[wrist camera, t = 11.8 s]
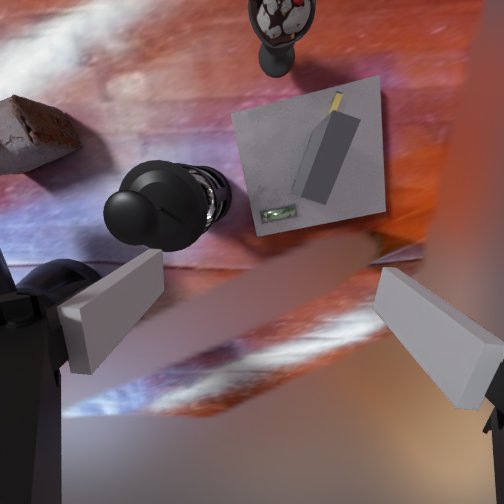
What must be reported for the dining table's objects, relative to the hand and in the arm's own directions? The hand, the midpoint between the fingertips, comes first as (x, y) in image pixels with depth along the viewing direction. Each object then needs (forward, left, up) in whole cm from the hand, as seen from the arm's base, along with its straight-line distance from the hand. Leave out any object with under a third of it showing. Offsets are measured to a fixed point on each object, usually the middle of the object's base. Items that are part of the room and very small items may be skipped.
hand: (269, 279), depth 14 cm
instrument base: (+8, +6, -27) cm, 29 cm away
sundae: (+6, +21, -27) cm, 35 cm away
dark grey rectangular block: (+9, +8, -23) cm, 26 cm away
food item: (-34, +19, -27) cm, 47 cm away
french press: (-10, +5, -27) cm, 29 cm away
